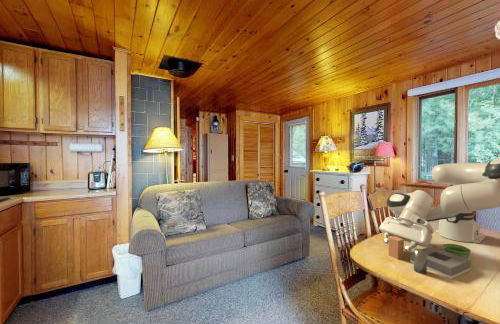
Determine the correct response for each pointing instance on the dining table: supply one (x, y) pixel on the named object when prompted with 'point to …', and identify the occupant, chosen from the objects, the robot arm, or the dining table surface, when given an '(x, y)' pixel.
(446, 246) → the ramekin
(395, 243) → the square bit
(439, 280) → the dining table surface
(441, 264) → the holder block
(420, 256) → the cylinder
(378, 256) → the dining table surface
